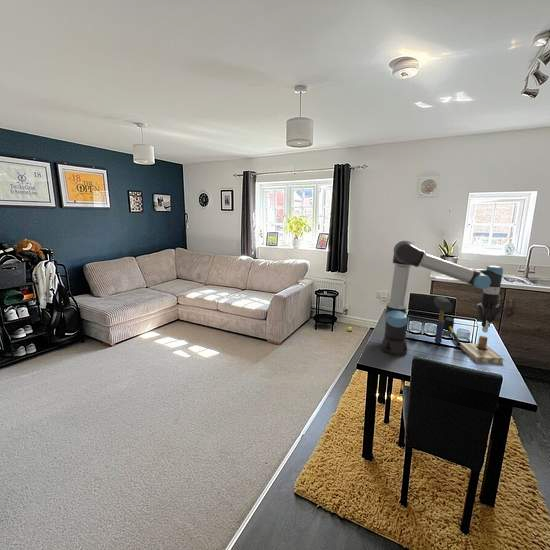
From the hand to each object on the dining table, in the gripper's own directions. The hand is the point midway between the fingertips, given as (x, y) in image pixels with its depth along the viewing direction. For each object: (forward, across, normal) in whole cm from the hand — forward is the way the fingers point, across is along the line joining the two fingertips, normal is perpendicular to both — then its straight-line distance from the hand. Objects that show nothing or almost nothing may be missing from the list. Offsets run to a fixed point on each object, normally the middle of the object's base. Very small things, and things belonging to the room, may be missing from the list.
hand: (484, 331), depth 175 cm
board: (+14, -2, -3) cm, 14 cm away
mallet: (+14, -7, +21) cm, 26 cm away
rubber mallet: (+14, -20, +11) cm, 27 cm away
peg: (+14, 0, 0) cm, 14 cm away
